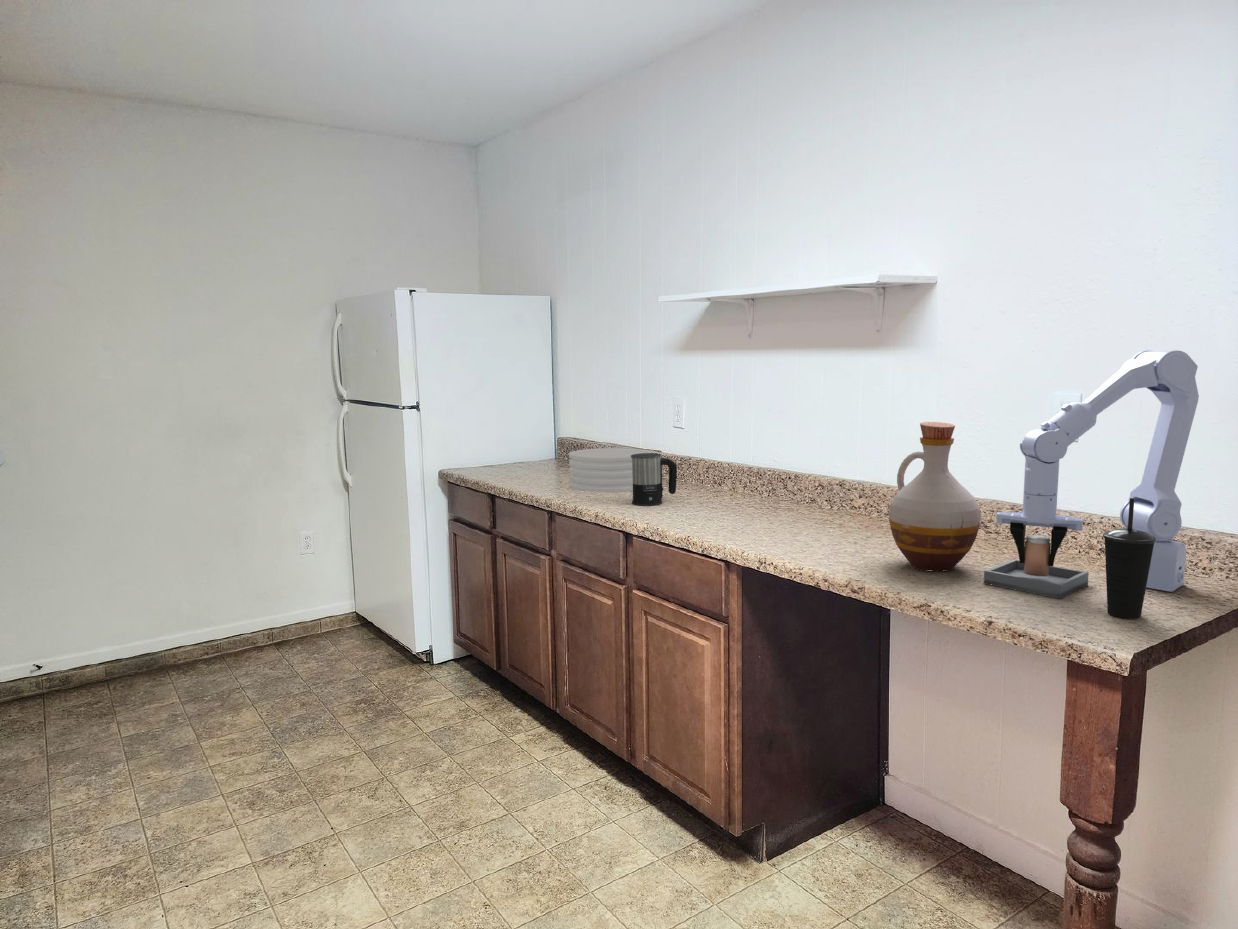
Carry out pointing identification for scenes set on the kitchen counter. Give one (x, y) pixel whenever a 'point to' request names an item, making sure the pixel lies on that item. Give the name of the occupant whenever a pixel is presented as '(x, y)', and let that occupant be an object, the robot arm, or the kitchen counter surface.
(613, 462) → the plate stack
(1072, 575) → the tray
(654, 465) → the milk frother
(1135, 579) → the drinking cup
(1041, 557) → the shaker
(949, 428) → the jug
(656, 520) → the kitchen counter surface
